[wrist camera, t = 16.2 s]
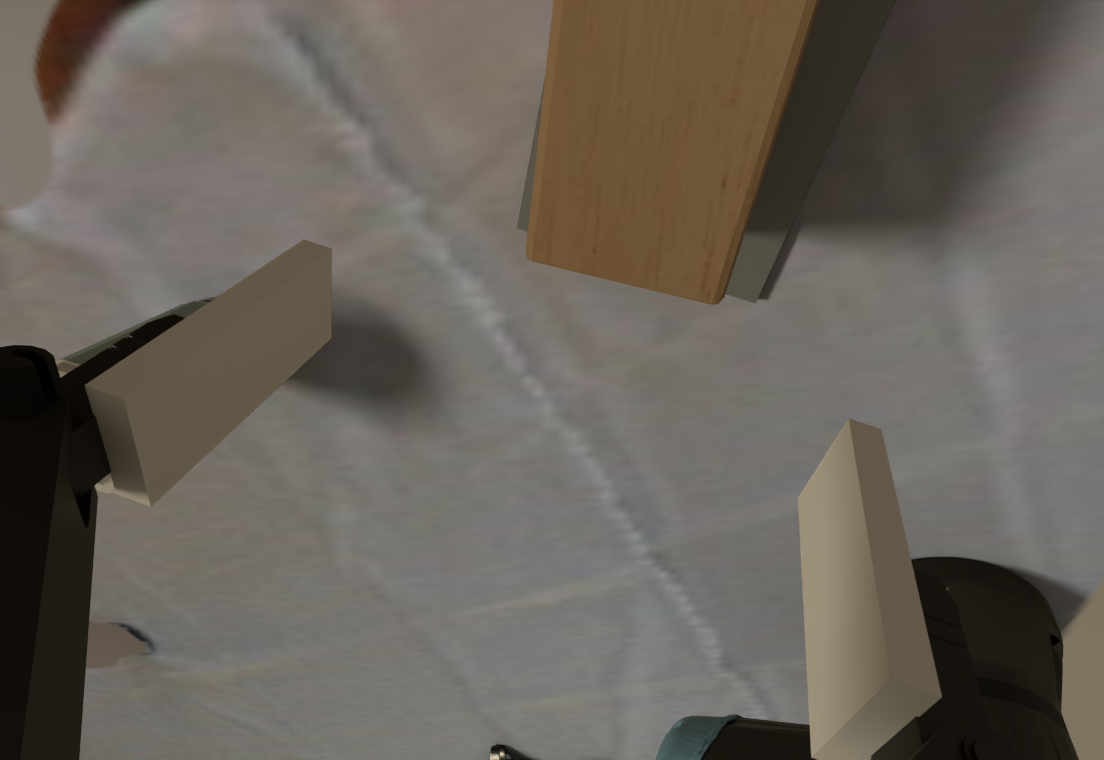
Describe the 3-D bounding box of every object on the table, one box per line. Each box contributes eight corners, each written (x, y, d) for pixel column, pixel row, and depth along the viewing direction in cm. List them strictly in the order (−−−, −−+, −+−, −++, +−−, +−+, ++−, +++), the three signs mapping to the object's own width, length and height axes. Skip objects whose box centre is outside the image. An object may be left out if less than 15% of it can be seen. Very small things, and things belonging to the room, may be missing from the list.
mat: (1041, -325, 25) (1046, -329, 25) (755, 299, 42) (755, 303, 41) (639, -412, 26) (636, -418, 26) (519, 224, 43) (516, 228, 43)
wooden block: (730, 233, 39) (867, -211, 27) (720, 311, 31) (907, -266, 20) (569, 197, 41) (634, -240, 29) (521, 262, 33) (584, -304, 21)
